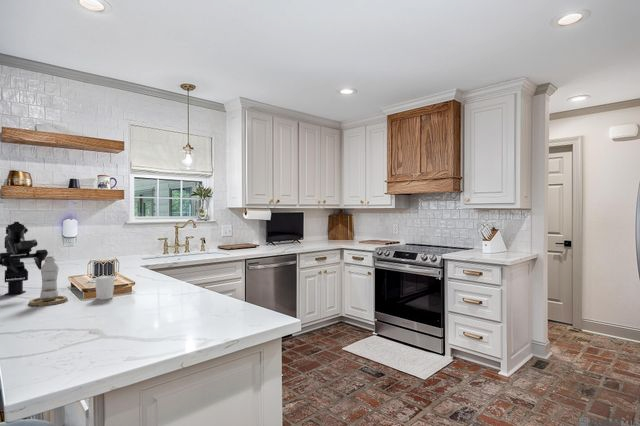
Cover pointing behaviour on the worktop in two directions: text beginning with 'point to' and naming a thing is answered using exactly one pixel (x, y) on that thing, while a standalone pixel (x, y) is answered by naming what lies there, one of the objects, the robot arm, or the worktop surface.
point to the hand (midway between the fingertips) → (29, 270)
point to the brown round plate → (47, 303)
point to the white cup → (104, 287)
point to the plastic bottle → (49, 280)
